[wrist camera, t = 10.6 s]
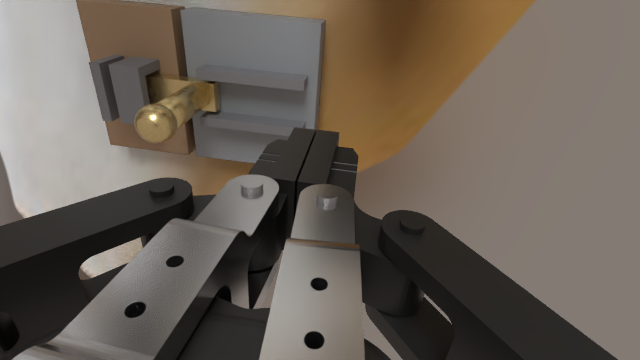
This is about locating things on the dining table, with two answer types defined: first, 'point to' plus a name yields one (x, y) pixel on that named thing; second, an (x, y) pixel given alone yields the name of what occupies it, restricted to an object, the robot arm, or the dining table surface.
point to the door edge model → (206, 72)
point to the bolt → (173, 104)
